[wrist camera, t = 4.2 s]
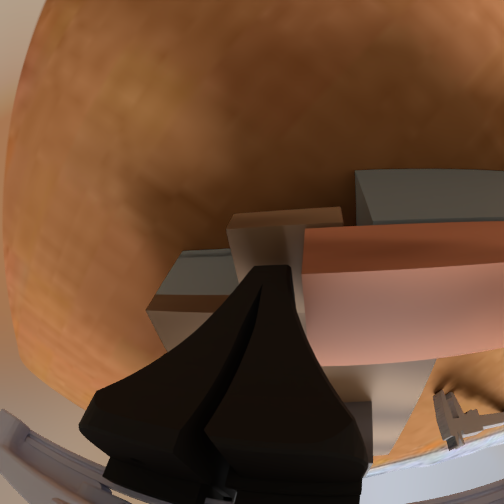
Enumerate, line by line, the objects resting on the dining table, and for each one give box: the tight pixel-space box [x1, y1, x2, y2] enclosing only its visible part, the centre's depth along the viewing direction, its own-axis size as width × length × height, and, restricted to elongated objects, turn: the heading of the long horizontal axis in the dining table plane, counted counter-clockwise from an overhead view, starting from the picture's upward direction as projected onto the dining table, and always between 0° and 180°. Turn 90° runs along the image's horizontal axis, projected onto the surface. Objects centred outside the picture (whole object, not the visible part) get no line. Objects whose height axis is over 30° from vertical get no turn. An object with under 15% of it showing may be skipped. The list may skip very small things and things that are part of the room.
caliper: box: [433, 390, 504, 451], centre depth 21 cm, size 20×1×6 cm, turn 67°
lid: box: [146, 207, 437, 477], centre depth 15 cm, size 22×14×6 cm, turn 12°
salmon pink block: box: [301, 221, 504, 366], centre depth 9 cm, size 4×8×2 cm, turn 101°
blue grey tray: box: [156, 169, 504, 295], centre depth 17 cm, size 22×20×5 cm
